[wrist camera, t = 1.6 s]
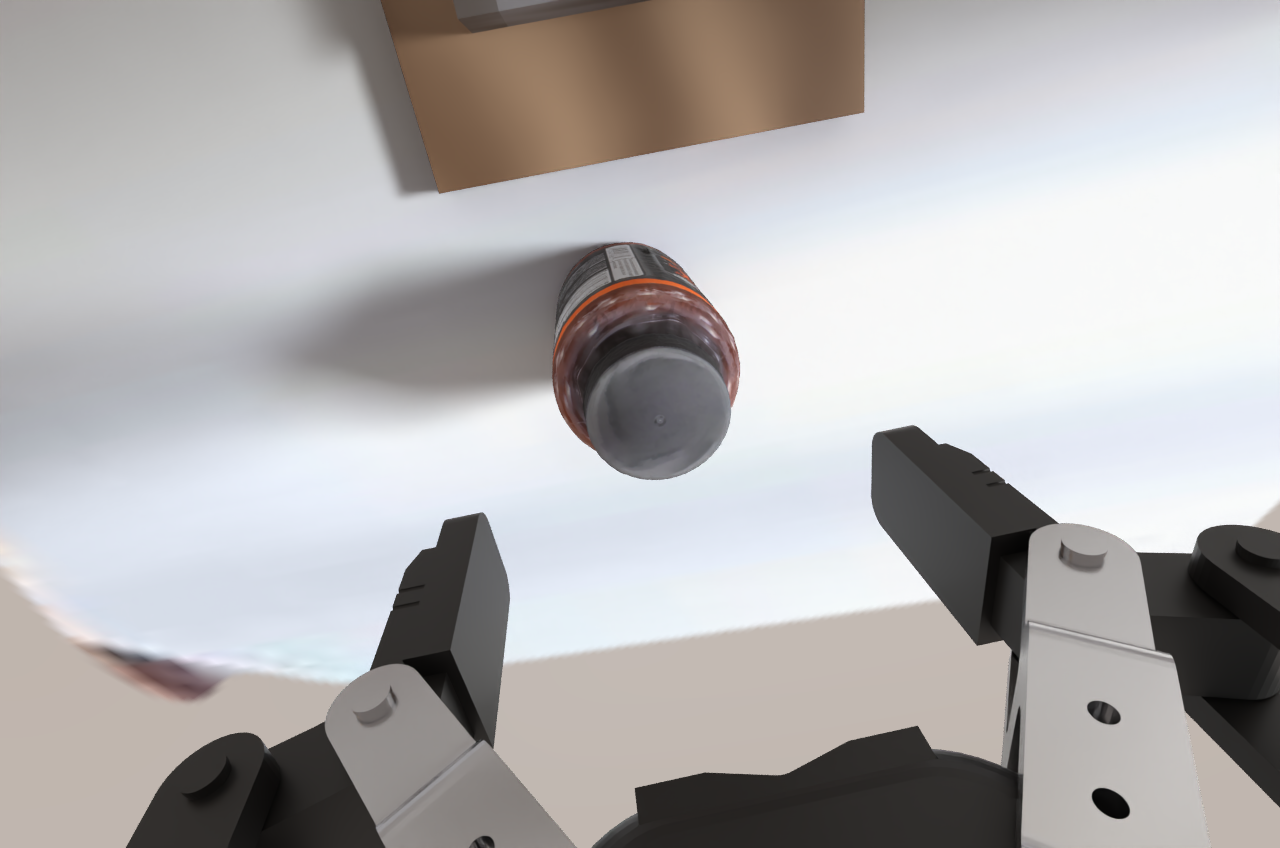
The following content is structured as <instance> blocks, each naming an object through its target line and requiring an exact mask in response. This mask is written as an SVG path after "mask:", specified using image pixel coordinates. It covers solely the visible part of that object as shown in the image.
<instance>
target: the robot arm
mask: <svg viewBox="0 0 1280 848" xmlns="http://www.w3.org/2000/svg"><path fill="white" fill-rule="evenodd" d="M871 498H872V505H873V509H874V512H875V515H876V517H877V519H878V521H879V523H880V525H881V526H882V527H883V529H884V530H885V531H886V532H887V534H888V535H889V536H890V537H891V539H892V540H893V541H894V542H895V544H896V545H897V546H898V547H899V549H900V550H901V551H902V552H903V554H904V555H905V556H906V557H907V559H908V560H909V561H910V562H911V564H912V565H913V566H914V567H915V569H916V570H917V571H918V572H919V574H920V575H921V576H922V577H923V579H924V580H925V581H926V582H927V584H928V585H929V586H930V587H931V589H932V590H933V591H934V592H935V594H936V595H937V596H938V597H939V599H940V600H941V601H942V602H943V604H944V605H945V606H946V607H947V609H948V610H949V611H950V612H951V614H952V615H953V616H954V617H955V619H956V620H957V621H958V622H959V623H960V625H961V626H962V627H963V628H964V630H965V631H966V632H967V634H968V635H969V636H970V637H971V639H972V640H973V641H974V642H975V644H976V645H977V646H978V645H983V644H988V643H992V642H997V641H1001V640H1004V641H1005V643H1006V644H1007V645H1008V646H1009V647H1010V648H1011V652H1010V658H1009V665H1008V679H1007V693H1006V707H1005V722H1004V736H1003V750H1002V760H1001V766H1000V765H998V764H995V763H993V762H990V761H987V760H984V759H981V758H979V757H974V756H971V755H967V754H963V753H959V752H953V751H946V750H937V749H931V747H930V746H929V744H928V742H927V741H926V739H925V737H924V736H923V734H922V732H921V731H920V729H919V727H918V726H915V727H910V728H905V729H901V730H897V731H892V732H887V733H883V734H878V735H874V736H870V737H865V738H860V739H856V740H851V741H848V742H846V743H844V744H842V745H840V746H839V747H837V748H835V749H833V750H831V751H829V752H827V753H826V754H824V755H822V756H820V757H818V758H816V759H814V760H812V761H811V762H809V763H807V764H805V765H803V766H801V767H800V768H798V769H796V770H794V771H792V772H790V773H787V774H785V775H778V776H777V775H776V776H775V775H751V774H725V773H702V774H697V775H692V776H688V777H683V778H679V779H674V780H670V781H665V782H660V783H656V784H651V785H647V786H642V787H638V788H635V794H636V803H637V812H638V813H636V814H634V815H633V816H631V817H629V818H627V819H626V820H624V821H623V822H621V823H620V824H618V825H617V826H616V827H614V828H613V829H611V830H610V831H609V832H608V833H607V834H605V835H604V836H603V837H602V838H601V839H600V840H599V841H598V842H596V843H595V844H594V845H593V847H592V848H1211V844H1210V839H1209V834H1208V829H1207V824H1206V819H1205V813H1204V809H1203V803H1202V798H1201V793H1200V788H1199V782H1198V777H1197V772H1196V767H1195V762H1194V757H1193V752H1192V747H1191V741H1190V737H1189V731H1188V726H1187V721H1186V716H1185V711H1186V713H1187V714H1188V715H1189V716H1190V717H1191V718H1192V719H1194V721H1195V722H1196V723H1197V724H1198V725H1199V726H1200V727H1201V728H1202V729H1203V730H1204V731H1205V732H1206V733H1207V734H1208V735H1209V736H1210V737H1211V738H1212V739H1213V740H1214V741H1215V742H1216V743H1217V744H1218V745H1219V746H1220V747H1221V748H1222V749H1223V750H1224V751H1225V752H1226V753H1227V754H1228V755H1229V756H1230V757H1231V758H1232V759H1233V760H1234V761H1235V762H1236V763H1237V764H1238V765H1239V767H1240V768H1242V770H1244V772H1245V773H1246V774H1248V776H1250V778H1251V779H1252V780H1253V781H1254V782H1255V783H1256V784H1257V785H1258V786H1259V787H1260V788H1261V789H1262V790H1263V791H1264V792H1265V793H1266V794H1267V795H1268V796H1269V797H1270V798H1271V799H1272V800H1273V801H1274V802H1275V803H1276V804H1277V805H1278V806H1279V807H1280V533H1277V532H1274V531H1270V530H1266V529H1262V528H1257V527H1251V526H1243V525H1221V526H1215V527H1211V528H1208V529H1206V530H1204V531H1203V532H1201V533H1200V534H1199V536H1198V538H1197V541H1196V544H1195V547H1194V550H1193V553H1192V554H1186V553H1139V552H1136V551H1135V550H1134V549H1133V548H1132V547H1131V546H1130V545H1129V544H1127V543H1126V542H1125V541H1123V540H1122V539H1120V538H1118V537H1117V536H1115V535H1113V534H1110V533H1108V532H1106V531H1103V530H1100V529H1097V528H1094V527H1090V526H1085V525H1080V524H1069V523H1061V524H1059V523H1058V522H1056V521H1055V520H1054V519H1053V518H1051V517H1050V516H1049V515H1047V514H1046V513H1045V512H1044V511H1042V510H1041V509H1040V508H1039V507H1037V506H1036V505H1035V504H1034V503H1032V502H1031V501H1030V500H1029V499H1027V498H1026V497H1025V496H1024V495H1022V494H1021V493H1020V492H1019V491H1017V490H1016V489H1015V488H1014V487H1012V486H1011V485H1010V484H1009V483H1008V484H1006V483H1005V480H1004V479H1002V478H1001V477H1000V476H999V475H997V474H996V473H995V472H994V471H992V472H991V471H990V468H989V467H987V466H986V465H985V464H984V463H982V462H981V461H980V460H979V459H977V458H976V457H975V456H974V455H972V454H971V453H968V452H966V451H963V450H961V449H958V448H956V447H953V446H951V445H949V444H946V443H945V444H940V445H938V444H937V443H936V442H935V441H934V440H932V439H931V438H930V437H929V436H928V435H927V434H925V433H924V432H923V431H922V430H921V429H919V428H918V427H917V426H914V425H911V426H906V427H901V428H897V429H892V430H887V431H882V432H877V433H876V434H875V435H874V437H873V441H872V484H871ZM509 603H510V593H509V584H508V579H507V574H506V571H505V568H504V565H503V562H502V559H501V556H500V553H499V550H498V548H497V545H496V542H495V539H494V536H493V533H492V530H491V527H490V525H489V522H488V519H487V517H486V516H485V514H484V513H477V514H472V515H467V516H462V517H457V518H452V519H447V520H445V521H444V523H443V526H442V529H441V532H440V536H439V539H438V542H437V546H436V547H435V548H430V549H425V550H422V551H421V552H420V553H419V555H418V556H417V557H416V558H415V559H414V560H413V562H412V563H411V564H410V565H409V566H408V567H407V569H406V570H405V573H404V576H403V578H402V581H401V584H400V587H399V594H397V595H396V598H395V601H394V604H393V611H391V612H390V615H389V618H388V621H387V624H386V626H385V629H384V632H383V635H382V638H381V641H380V643H379V646H378V649H377V652H376V655H375V658H374V660H373V663H372V666H371V669H370V671H369V672H367V673H365V674H363V675H361V676H360V677H358V678H357V679H355V680H354V681H353V682H351V683H350V684H349V685H348V686H347V687H346V688H345V689H344V690H343V691H342V692H341V693H340V694H339V695H338V696H337V698H336V699H335V700H334V702H333V703H332V705H331V707H330V709H329V711H328V713H327V716H326V721H325V722H323V723H321V724H319V725H318V726H316V727H314V728H311V729H309V730H307V731H305V732H303V733H301V734H299V735H297V736H295V737H293V738H291V739H288V740H286V741H284V742H282V743H280V744H278V745H276V746H274V747H271V748H269V749H267V747H266V746H265V744H264V743H263V742H262V740H261V739H260V738H259V737H258V736H256V735H254V734H251V733H235V734H230V735H227V736H224V737H221V738H219V739H217V740H214V741H213V742H211V743H209V744H207V745H205V746H203V747H202V748H200V749H199V750H197V751H196V752H194V753H193V754H192V755H190V756H189V757H188V758H186V759H185V760H184V761H183V762H182V763H181V764H180V765H179V766H177V767H176V768H175V770H174V771H173V772H172V773H171V774H170V775H169V776H168V777H167V778H166V780H165V781H164V782H163V783H162V785H161V786H160V788H159V789H158V791H157V793H156V794H155V796H154V798H153V800H152V801H151V803H150V805H149V807H148V809H147V811H146V812H145V814H144V816H143V818H142V820H141V821H140V823H139V825H138V827H137V829H136V830H135V832H134V834H133V836H132V838H131V840H130V841H129V843H128V845H127V847H126V848H577V847H576V846H575V845H574V844H573V843H572V841H571V840H570V839H569V838H568V837H567V836H566V834H565V833H564V832H563V831H562V830H561V828H560V827H559V826H558V825H557V824H556V823H555V821H554V820H553V819H552V818H551V817H550V816H549V814H548V813H547V812H546V811H545V810H544V809H543V807H542V806H541V805H540V804H539V803H538V801H537V800H536V799H535V798H534V797H533V796H532V794H531V793H530V792H529V791H528V790H527V788H526V787H525V786H524V785H523V784H522V783H521V781H520V780H519V779H518V778H517V777H516V776H515V774H514V773H513V772H512V771H511V770H510V768H509V767H508V766H507V765H506V764H505V763H504V762H503V760H502V759H501V758H500V757H499V756H498V754H497V753H496V752H495V751H494V750H493V747H494V738H495V730H496V721H497V712H498V703H499V694H500V685H501V675H502V667H503V658H504V649H505V639H506V630H507V621H508V612H509Z"/></svg>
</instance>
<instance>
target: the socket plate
mask: <svg viewBox="0 0 1280 848" xmlns="http://www.w3.org/2000/svg"><path fill="white" fill-rule="evenodd" d="M381 3H382V6H383V10H384V13H385V16H386V19H387V23H388V26H389V29H390V33H391V36H392V39H393V43H394V46H395V49H396V52H397V56H398V59H399V62H400V66H401V69H402V72H403V76H404V79H405V82H406V85H407V89H408V92H409V95H410V99H411V102H412V105H413V109H414V112H415V115H416V118H417V122H418V125H419V128H420V132H421V135H422V138H423V142H424V145H425V148H426V151H427V155H428V158H429V161H430V165H431V168H432V171H433V175H434V178H435V181H436V184H437V188H438V191H439V194H440V193H445V192H450V191H455V190H461V189H466V188H471V187H476V186H481V185H487V184H492V183H497V182H502V181H508V180H513V179H518V178H523V177H529V176H534V175H539V174H544V173H549V172H555V171H560V170H565V169H570V168H576V167H581V166H586V165H591V164H597V163H602V162H607V161H612V160H617V159H623V158H628V157H633V156H638V155H644V154H649V153H654V152H659V151H665V150H670V149H675V148H680V147H685V146H691V145H696V144H701V143H706V142H712V141H717V140H722V139H727V138H733V137H738V136H743V135H748V134H754V133H759V132H764V131H769V130H774V129H780V128H785V127H790V126H795V125H801V124H806V123H811V122H816V121H822V120H827V119H832V118H837V117H842V116H848V115H853V114H858V113H863V112H864V13H865V0H381Z"/></svg>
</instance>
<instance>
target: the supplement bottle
mask: <svg viewBox="0 0 1280 848" xmlns="http://www.w3.org/2000/svg"><path fill="white" fill-rule="evenodd" d="M739 377H740V362H739V357H738V350H737V347H736V344H735V340H734V337H733V335H732V333H731V332H730V330H729V328H728V326H727V324H726V322H725V321H724V320H723V318H722V317H721V316H720V315H719V313H718V312H717V311H716V310H715V308H714V307H713V305H712V304H711V303H710V302H709V301H708V299H707V298H706V297H705V296H704V295H703V294H702V293H701V292H700V290H699V289H698V288H697V287H696V286H695V284H694V282H693V281H692V280H691V279H690V278H689V276H688V275H687V274H686V273H685V272H684V270H683V268H681V267H680V266H679V265H678V264H677V263H676V262H675V261H674V260H673V259H671V258H670V257H668V256H667V255H666V254H664V253H662V252H661V251H659V250H657V249H655V248H652V247H650V246H647V245H644V244H641V243H633V242H624V243H614V244H610V245H607V246H603V247H601V248H598V249H596V250H594V251H592V252H591V253H589V254H587V255H586V256H585V257H584V258H583V259H581V260H580V261H579V262H578V263H577V264H576V265H575V266H574V267H573V269H572V270H571V271H570V273H569V275H568V276H567V278H566V280H565V282H564V284H563V286H562V290H561V292H560V295H559V300H558V304H557V314H556V325H555V338H554V350H553V372H552V379H553V388H554V393H555V398H556V401H557V404H558V407H559V410H560V412H561V415H562V416H563V418H564V420H565V421H566V423H567V424H568V426H569V427H570V428H571V430H572V431H573V432H574V433H575V435H577V437H578V438H579V439H580V440H581V441H582V442H584V443H585V444H586V445H588V446H589V447H591V448H592V449H594V450H595V451H597V453H598V454H599V455H600V457H601V458H602V459H603V460H605V461H606V462H607V463H608V464H609V465H610V466H611V467H613V468H614V469H616V470H617V471H619V472H621V473H623V474H627V475H629V476H631V477H636V478H639V479H646V480H649V479H650V480H662V479H669V478H673V477H677V476H680V475H682V474H686V473H688V472H689V471H691V470H693V469H695V468H696V467H698V466H700V465H701V464H702V463H704V462H705V461H706V460H707V459H708V458H709V457H711V456H712V455H713V453H714V452H715V451H716V450H717V448H718V447H719V446H720V444H721V442H722V440H723V439H724V437H725V435H726V433H727V430H728V427H729V423H730V417H731V407H732V406H733V403H734V400H735V397H736V394H737V390H738V385H739Z"/></svg>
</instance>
